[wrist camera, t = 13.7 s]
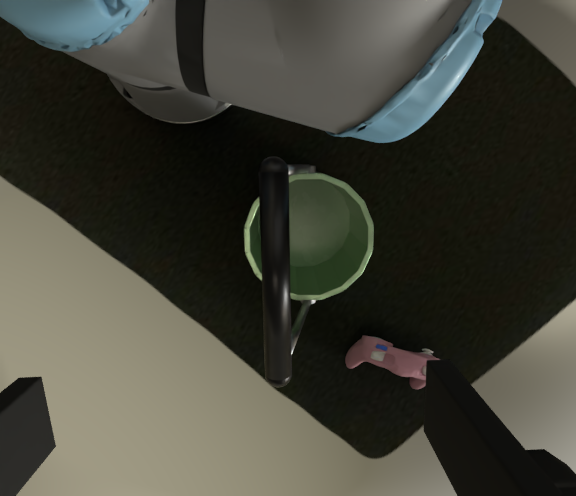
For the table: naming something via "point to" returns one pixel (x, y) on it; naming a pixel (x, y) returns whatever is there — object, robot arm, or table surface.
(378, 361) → the video game controller
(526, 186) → the table surface
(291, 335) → the bucket
